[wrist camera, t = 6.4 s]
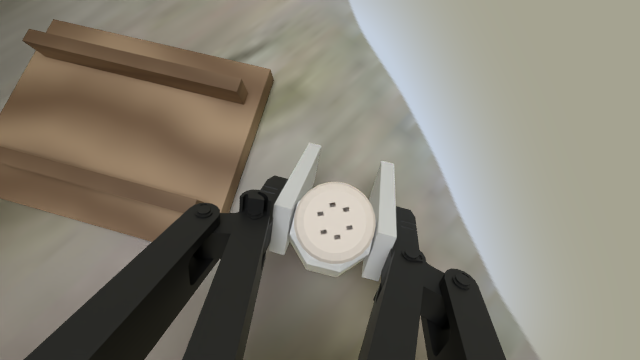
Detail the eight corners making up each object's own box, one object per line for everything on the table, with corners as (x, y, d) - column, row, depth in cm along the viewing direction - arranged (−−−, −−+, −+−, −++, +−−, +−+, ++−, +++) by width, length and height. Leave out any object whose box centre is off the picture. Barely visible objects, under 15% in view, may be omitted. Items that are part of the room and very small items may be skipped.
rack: (213, 256, 20) (193, 257, 17) (-16, 190, 22) (-75, 180, 19) (273, 80, 24) (265, 53, 20) (69, 32, 25) (31, 0, 22)
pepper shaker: (286, 204, 21) (246, 156, 11) (360, 192, 21) (397, 133, 11) (296, 283, 20) (263, 320, 9) (375, 270, 20) (434, 292, 9)
